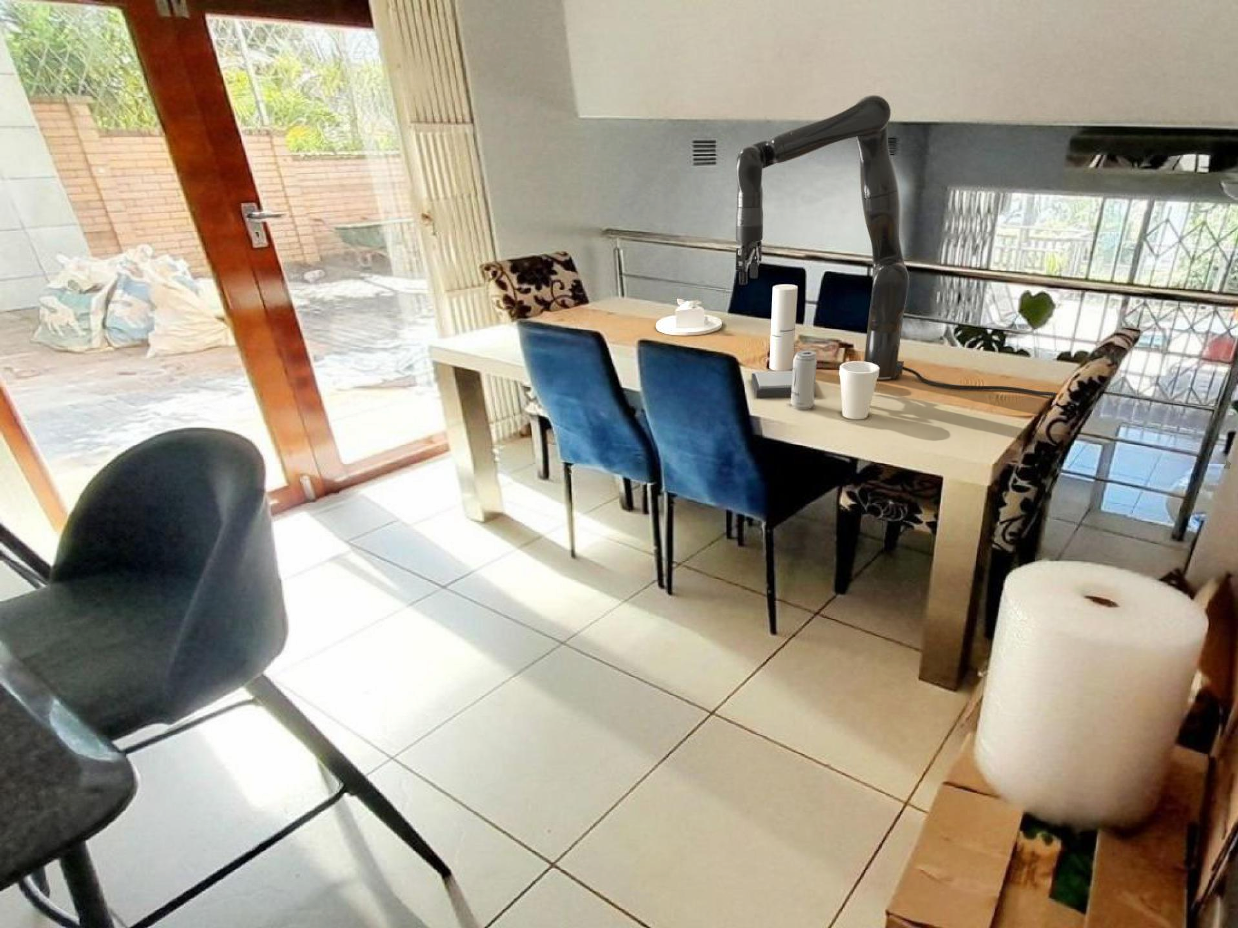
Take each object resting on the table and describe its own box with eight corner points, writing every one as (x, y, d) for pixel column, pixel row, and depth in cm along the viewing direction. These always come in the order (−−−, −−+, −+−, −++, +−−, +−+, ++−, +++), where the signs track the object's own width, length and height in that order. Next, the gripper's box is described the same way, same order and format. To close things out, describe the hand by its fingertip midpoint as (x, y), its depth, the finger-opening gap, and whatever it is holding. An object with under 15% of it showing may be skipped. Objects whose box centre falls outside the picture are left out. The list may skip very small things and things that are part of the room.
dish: (726, 333, 255) (726, 302, 250) (657, 337, 256) (656, 306, 251) (718, 316, 277) (718, 287, 272) (654, 319, 278) (653, 290, 273)
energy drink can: (787, 403, 193) (790, 350, 186) (809, 401, 193) (813, 348, 187) (794, 411, 188) (797, 357, 181) (816, 409, 188) (820, 355, 181)
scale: (805, 379, 209) (806, 369, 207) (814, 396, 196) (815, 385, 195) (751, 380, 210) (751, 370, 209) (756, 398, 198) (756, 387, 196)
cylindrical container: (793, 371, 216) (797, 289, 204) (769, 371, 217) (772, 290, 206) (792, 363, 222) (797, 284, 211) (769, 363, 223) (773, 284, 212)
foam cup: (868, 424, 178) (873, 375, 172) (831, 418, 182) (835, 370, 176) (877, 410, 185) (882, 363, 179) (842, 405, 189) (846, 359, 184)
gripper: (752, 227, 191) (751, 287, 198) (770, 219, 201) (769, 276, 209) (727, 227, 194) (727, 286, 201) (746, 219, 205) (745, 275, 212)
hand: (748, 281), depth 205 cm, fingers open, 8 cm apart
